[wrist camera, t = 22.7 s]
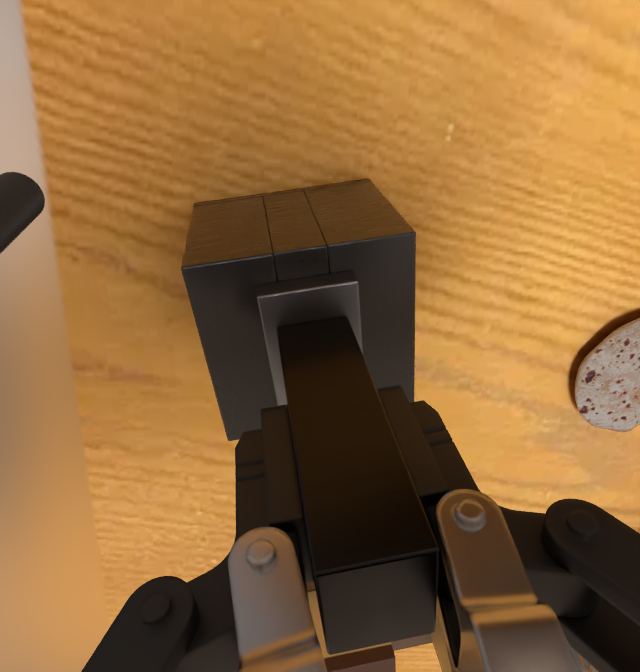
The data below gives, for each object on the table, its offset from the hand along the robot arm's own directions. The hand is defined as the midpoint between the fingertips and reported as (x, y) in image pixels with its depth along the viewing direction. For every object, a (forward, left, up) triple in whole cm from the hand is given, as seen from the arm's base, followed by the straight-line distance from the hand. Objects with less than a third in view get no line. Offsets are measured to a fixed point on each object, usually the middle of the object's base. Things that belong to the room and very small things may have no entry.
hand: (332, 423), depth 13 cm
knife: (0, 0, -9) cm, 9 cm away
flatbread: (+18, -9, -10) cm, 22 cm away
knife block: (0, 0, -10) cm, 10 cm away
